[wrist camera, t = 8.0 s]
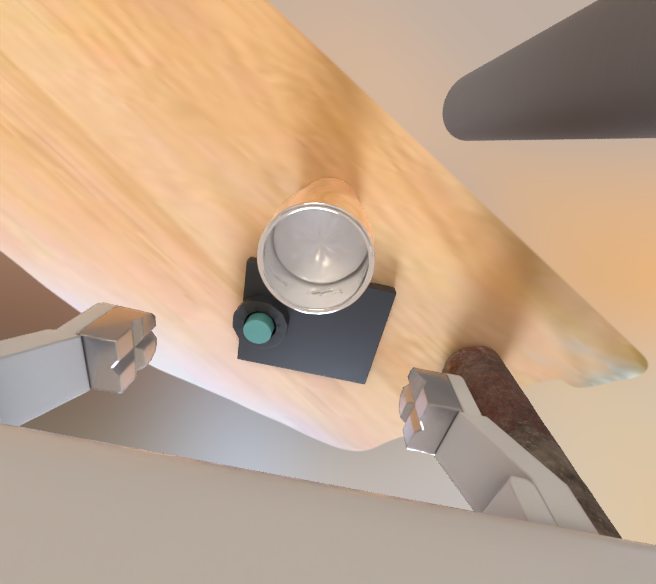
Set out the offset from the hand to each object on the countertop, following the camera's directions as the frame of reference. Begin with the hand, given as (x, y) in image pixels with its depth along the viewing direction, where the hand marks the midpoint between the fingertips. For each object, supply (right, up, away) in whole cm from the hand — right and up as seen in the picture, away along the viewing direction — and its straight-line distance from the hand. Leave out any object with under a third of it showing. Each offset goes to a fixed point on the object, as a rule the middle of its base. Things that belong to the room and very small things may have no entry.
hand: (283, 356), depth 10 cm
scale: (0, -1, +26) cm, 26 cm away
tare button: (-6, -1, +24) cm, 25 cm away
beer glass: (+2, +10, +21) cm, 23 cm away
